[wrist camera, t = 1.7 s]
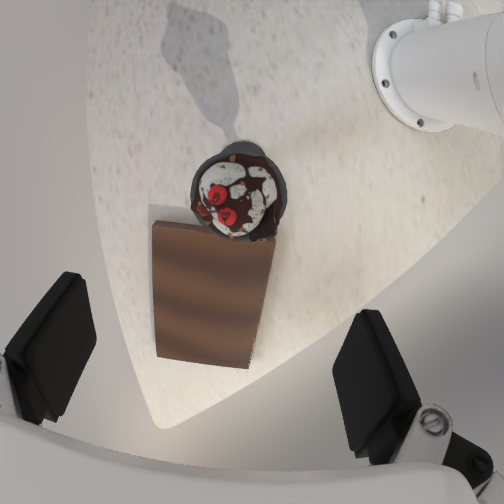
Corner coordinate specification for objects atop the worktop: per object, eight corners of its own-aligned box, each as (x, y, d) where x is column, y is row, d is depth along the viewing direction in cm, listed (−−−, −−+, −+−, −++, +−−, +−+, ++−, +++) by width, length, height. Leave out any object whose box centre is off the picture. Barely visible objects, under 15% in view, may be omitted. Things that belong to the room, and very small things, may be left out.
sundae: (203, 138, 29) (160, 177, 15) (272, 129, 28) (291, 158, 15) (214, 201, 32) (187, 283, 18) (279, 193, 31) (299, 271, 18)
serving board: (155, 220, 33) (151, 225, 31) (274, 235, 34) (275, 241, 32) (158, 349, 42) (156, 356, 41) (248, 361, 43) (248, 369, 42)
